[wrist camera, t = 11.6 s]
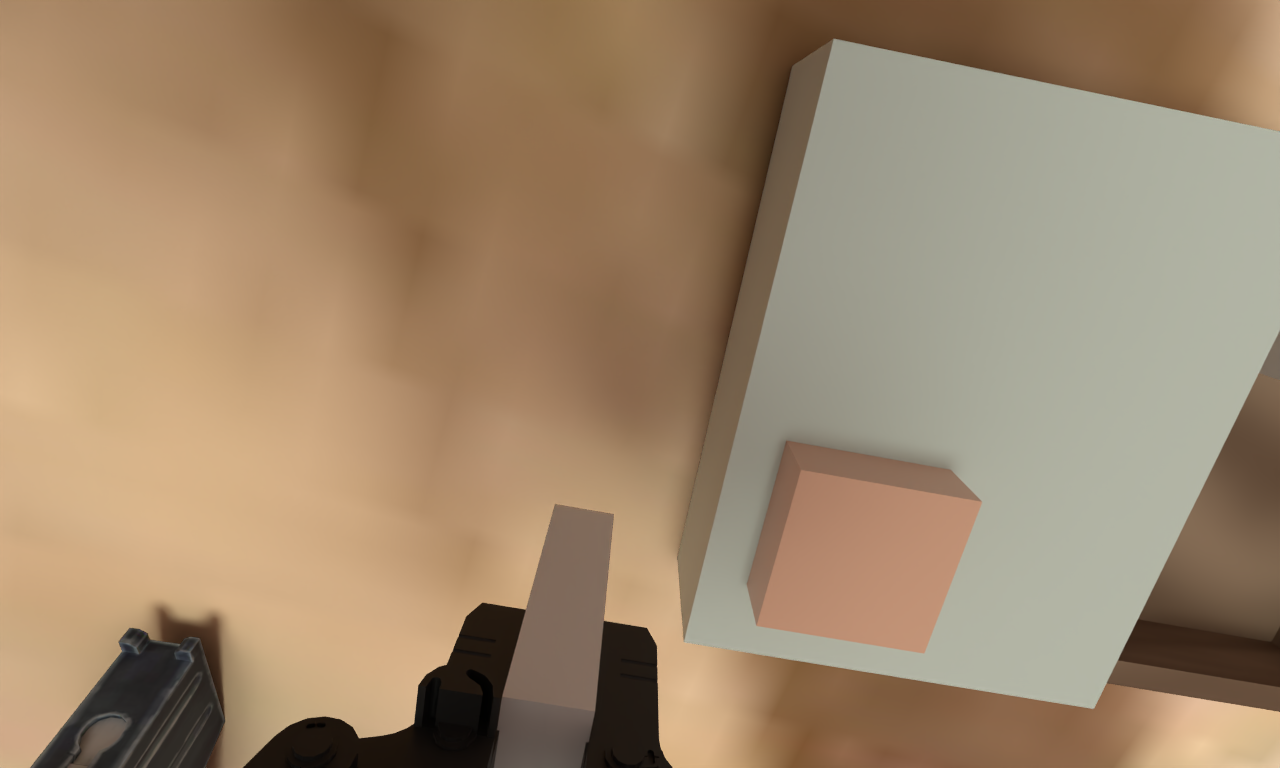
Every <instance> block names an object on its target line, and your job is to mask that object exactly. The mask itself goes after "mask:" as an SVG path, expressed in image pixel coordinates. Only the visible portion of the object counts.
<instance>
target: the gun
mask: <svg viewBox="0 0 1280 768" xmlns="http://www.w3.org/2000/svg"><path fill="white" fill-rule="evenodd" d="M119 645H120V647H121V649H122V652H121V654H120V655H119V656H118V657H117V659H116V660H115V661H114V663H113V664H112V665H111V666H110V668H109V669H108V670H107V671H106V673H105V674H104V675H103V676H102V678H101V679H100V680H99V681H98V683H97V684H96V685H95V687H94V688H93V689H92V690H91V692H90V693H89V694H88V695H87V697H86V698H85V699H84V700H83V702H82V703H81V704H80V705H79V707H78V708H77V709H76V711H75V712H74V713H73V714H72V716H71V717H70V718H69V719H68V721H67V722H66V723H65V724H64V726H63V727H62V728H61V729H60V731H59V732H58V733H57V735H56V736H55V737H54V738H53V740H52V741H51V742H50V743H49V745H48V746H47V747H46V748H45V750H44V751H43V752H42V753H41V755H40V756H39V757H38V759H37V760H36V761H35V762H34V764H33V765H32V766H31V767H30V768H205V767H206V765H207V762H208V760H209V758H210V755H211V753H212V750H213V748H214V746H215V743H216V741H217V739H218V736H219V734H220V731H221V729H222V727H223V724H224V722H225V719H224V715H223V712H222V709H221V706H220V702H219V699H218V696H217V692H216V689H215V686H214V683H213V679H212V676H211V673H210V670H209V666H208V663H207V660H206V657H205V653H204V650H203V647H202V643H201V640H200V638H195V637H188V638H185V639H184V640H183V641H182V643H181V644H175V643H168V642H162V641H155V640H150V639H149V636H148V633H146V632H144V631H142V630H140V629H134V628H129V629H128V631H127V632H126V633H125V634H124V636H123V637H122V638H121V639H120V641H119Z"/></svg>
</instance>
